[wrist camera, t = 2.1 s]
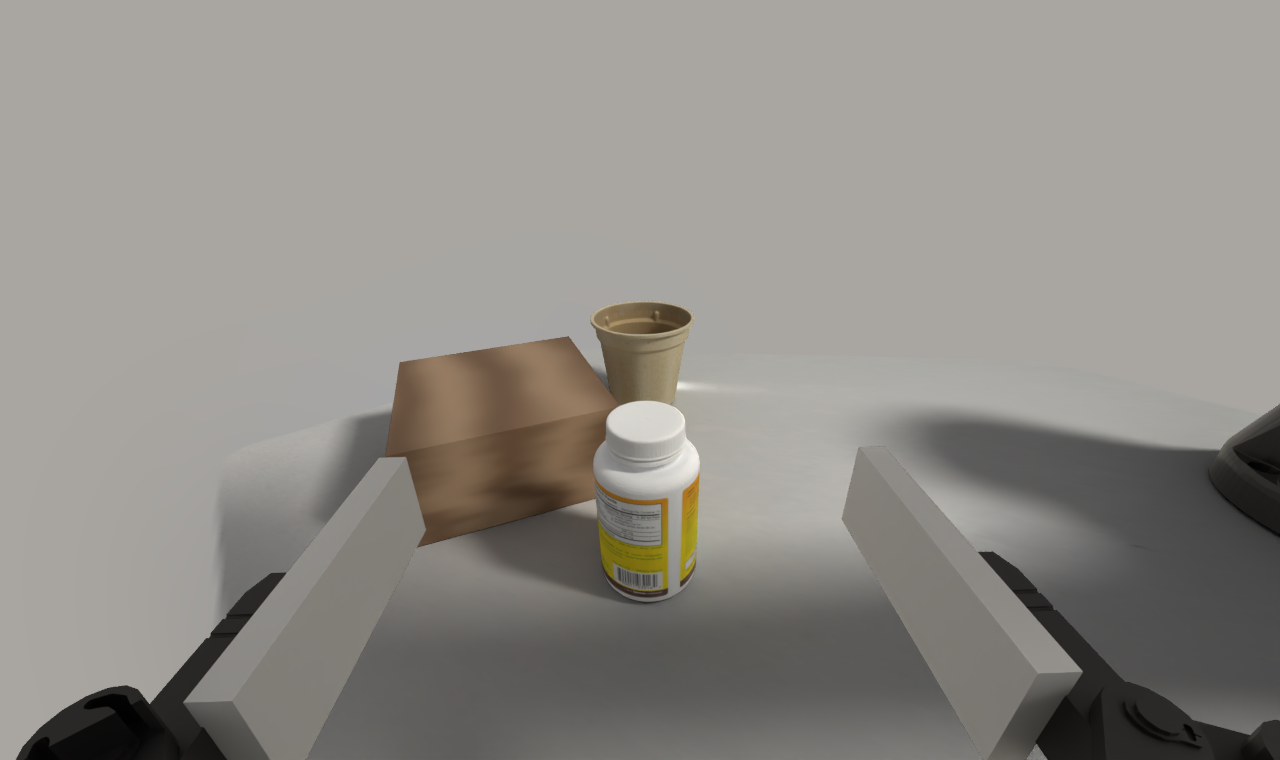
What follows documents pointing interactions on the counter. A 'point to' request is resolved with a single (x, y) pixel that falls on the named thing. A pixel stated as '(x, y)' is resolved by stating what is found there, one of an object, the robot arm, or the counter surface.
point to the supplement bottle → (647, 501)
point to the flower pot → (642, 348)
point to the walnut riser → (498, 433)
